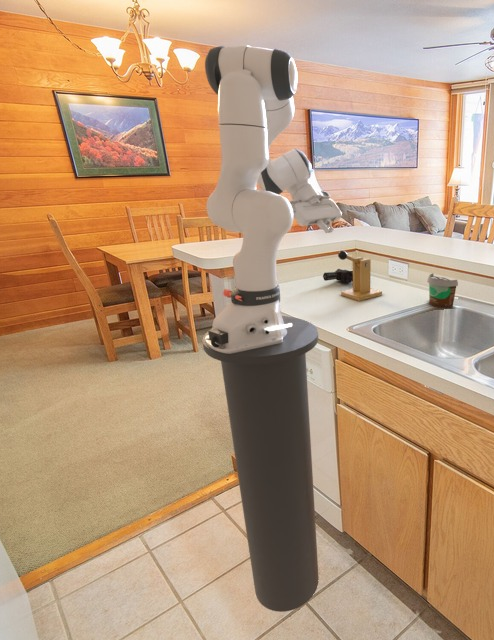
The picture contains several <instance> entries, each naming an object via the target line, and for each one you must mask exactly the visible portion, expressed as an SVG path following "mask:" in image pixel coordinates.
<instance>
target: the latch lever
mask: <svg viewBox="0 0 494 640" xmlns="http://www.w3.org/2000/svg"><path fill="white" fill-rule="evenodd" d="M337 256H338V259H339V260H342V261H343V260H349V261H351V262H352V263H353V262H356V263H357V264H356V265H357V266H360V260H361V259H358V260H356V259H354V258H355V257H351V256H350V255H348V253H347V252H346V251H345V250H340V251H339V252H338V254H337Z"/></svg>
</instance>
